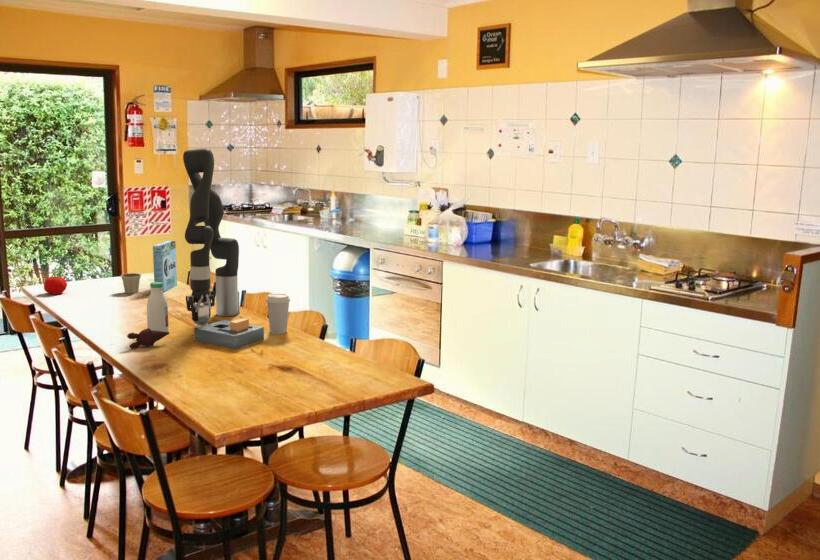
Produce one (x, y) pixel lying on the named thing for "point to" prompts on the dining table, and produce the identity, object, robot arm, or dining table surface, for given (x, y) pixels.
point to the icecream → (146, 337)
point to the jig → (228, 335)
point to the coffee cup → (278, 312)
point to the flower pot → (131, 282)
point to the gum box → (165, 264)
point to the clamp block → (239, 324)
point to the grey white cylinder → (202, 315)
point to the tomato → (55, 285)
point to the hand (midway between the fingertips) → (201, 319)
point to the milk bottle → (157, 308)
